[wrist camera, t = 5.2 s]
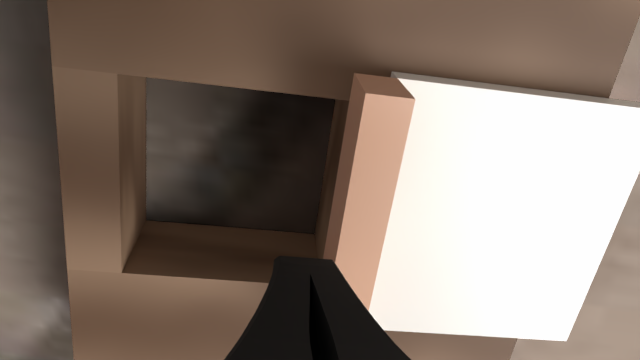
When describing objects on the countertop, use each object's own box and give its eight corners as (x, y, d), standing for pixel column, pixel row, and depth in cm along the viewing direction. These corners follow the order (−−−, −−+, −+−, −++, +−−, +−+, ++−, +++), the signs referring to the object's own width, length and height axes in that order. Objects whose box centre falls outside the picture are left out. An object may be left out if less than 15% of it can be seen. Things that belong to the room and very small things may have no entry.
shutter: (555, 325, 19) (597, 384, 17) (310, 310, 18) (315, 371, 16) (647, 103, 16) (718, 134, 13) (350, 66, 15) (365, 93, 12)
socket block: (466, 335, 24) (495, 396, 21) (104, 314, 22) (75, 377, 19) (588, -39, 17) (658, -34, 14) (86, -119, 15) (36, -134, 12)
